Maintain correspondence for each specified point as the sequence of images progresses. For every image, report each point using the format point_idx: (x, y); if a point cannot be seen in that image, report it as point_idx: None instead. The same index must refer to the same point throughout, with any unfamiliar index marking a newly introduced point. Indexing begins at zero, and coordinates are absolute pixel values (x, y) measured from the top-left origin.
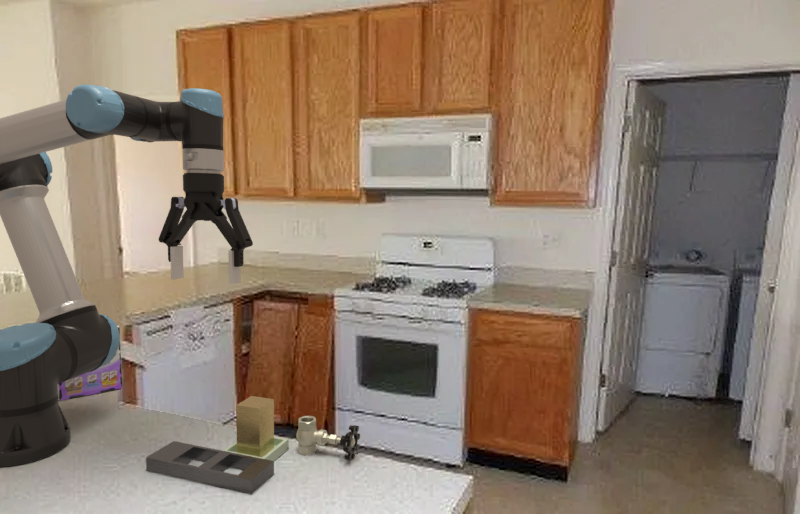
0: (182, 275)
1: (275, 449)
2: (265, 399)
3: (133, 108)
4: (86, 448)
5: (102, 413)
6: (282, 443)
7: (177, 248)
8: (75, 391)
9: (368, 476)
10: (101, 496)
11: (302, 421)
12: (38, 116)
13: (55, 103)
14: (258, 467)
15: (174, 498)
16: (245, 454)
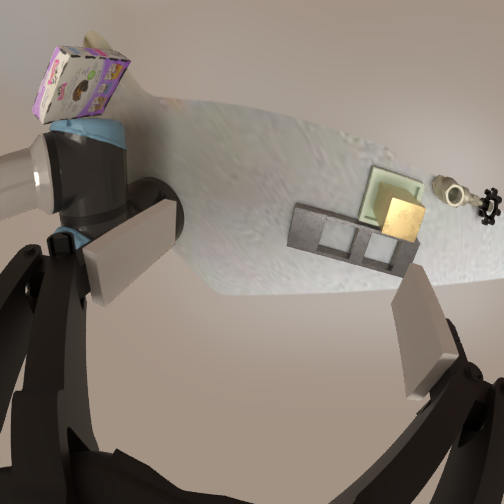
0: (171, 208)
1: None
2: (415, 210)
3: None
4: (201, 204)
5: (156, 125)
6: (420, 196)
7: (105, 280)
8: (103, 102)
9: (492, 235)
10: (275, 281)
11: (450, 202)
12: None
13: None
14: (407, 256)
15: (338, 280)
16: None
